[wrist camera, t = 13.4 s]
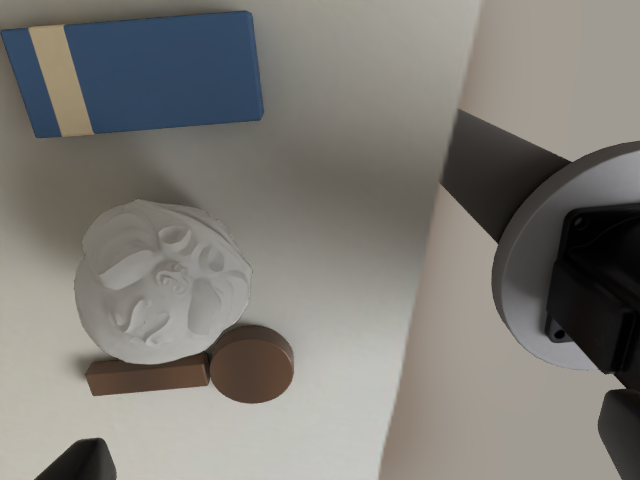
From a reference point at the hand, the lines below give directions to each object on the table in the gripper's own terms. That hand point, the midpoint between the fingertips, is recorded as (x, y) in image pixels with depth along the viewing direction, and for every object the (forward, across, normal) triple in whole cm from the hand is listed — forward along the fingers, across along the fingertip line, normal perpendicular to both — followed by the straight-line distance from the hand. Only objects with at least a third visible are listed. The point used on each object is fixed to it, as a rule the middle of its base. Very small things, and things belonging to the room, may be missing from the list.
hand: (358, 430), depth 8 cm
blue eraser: (+12, +6, -6) cm, 14 cm away
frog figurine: (+12, +6, +1) cm, 14 cm away
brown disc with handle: (+12, +6, +8) cm, 16 cm away
